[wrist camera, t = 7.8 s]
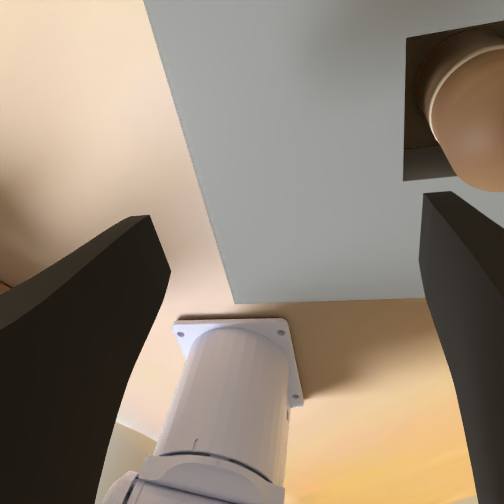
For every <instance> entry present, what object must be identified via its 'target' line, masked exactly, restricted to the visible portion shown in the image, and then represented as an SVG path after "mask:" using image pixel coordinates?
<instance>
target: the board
mask: <svg viewBox="0 0 504 504" xmlns="http://www.w3.org/2000/svg"><path fill="white" fill-rule="evenodd" d="M143 1H144V5H145V8H146V11H147V14H148V18H149V21H150V24H151V28H152V31H153V34H154V38H155V41H156V44H157V48H158V51H159V54H160V57H161V61H162V64H163V67H164V71H165V74H166V77H167V81H168V84H169V87H170V91H171V94H172V97H173V100H174V104H175V107H176V110H177V114H178V117H179V120H180V124H181V127H182V130H183V134H184V137H185V140H186V144H187V147H188V150H189V153H190V157H191V160H192V163H193V167H194V170H195V173H196V177H197V180H198V183H199V187H200V190H201V193H202V196H203V200H204V203H205V206H206V210H207V213H208V216H209V220H210V223H211V226H212V230H213V233H214V236H215V239H216V243H217V246H218V249H219V253H220V256H221V259H222V263H223V266H224V269H225V273H226V276H227V279H228V283H229V286H230V289H231V292H232V296H233V299H234V302H235V304H255V303H285V302H316V301H347V300H377V299H408V298H426V297H425V293H424V288H423V283H422V278H421V272H420V266H419V261H418V259H419V246H420V232H421V218H422V205H423V193H431V192H443V191H452V192H453V193H455V194H456V195H458V196H459V197H461V198H462V199H463V200H465V201H466V202H468V203H469V204H470V205H472V206H473V207H474V208H476V209H477V210H478V211H480V212H481V213H483V214H484V215H485V216H487V217H488V218H490V219H491V220H492V221H494V222H495V223H497V224H498V225H500V226H501V227H503V228H504V192H488V191H483V190H479V189H476V188H474V187H472V186H470V185H468V184H466V183H465V182H463V181H462V180H461V179H460V178H459V177H458V176H457V174H456V173H455V172H454V170H453V168H452V166H451V164H450V163H449V161H448V159H447V157H446V155H445V153H444V151H443V149H442V148H441V146H440V145H438V146H429V147H421V148H412V149H404V108H405V66H406V38H408V37H413V36H419V35H425V34H430V33H436V32H441V31H447V30H453V29H458V28H464V27H470V26H475V25H481V24H486V23H492V22H498V21H503V20H504V0H143Z"/></svg>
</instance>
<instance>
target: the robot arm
mask: <svg viewBox="0 0 504 504" xmlns="http://www.w3.org/2000/svg"><path fill="white" fill-rule="evenodd" d="M418 261H419V266H420V272H421V278H422V283H423V288H424V293H425V297H426V300H427V303H428V306H429V309H430V312H431V315H432V318H433V321H434V324H435V327H436V330H437V333H438V336H439V339H440V342H441V345H442V348H443V351H444V354H445V357H446V360H447V363H448V366H449V369H450V372H451V375H452V379H453V382H454V386H455V390H456V394H457V399H458V403H459V408H460V413H461V417H462V422H463V426H464V431H465V436H466V441H467V446H468V451H469V456H470V461H471V466H472V471H473V476H474V481H475V487H476V492H477V498H478V503H479V504H504V228H503V227H501V226H500V225H498V224H497V223H495V222H494V221H492V220H491V219H490V218H488V217H487V216H485V215H484V214H483V213H481V212H480V211H478V210H477V209H476V208H474V207H473V206H472V205H470V204H469V203H468V202H466V201H465V200H463V199H462V198H461V197H459V196H458V195H456V194H455V193H453V192H452V191H443V192H431V193H423V205H422V218H421V232H420V246H419V259H418ZM170 274H171V270H170V267H169V264H168V262H167V259H166V257H165V254H164V251H163V249H162V246H161V243H160V241H159V238H158V236H157V233H156V230H155V228H154V225H153V223H152V220H151V217H150V215H143V216H130V217H128V218H126V219H124V220H122V221H120V222H119V223H117V224H115V225H114V226H112V227H110V228H109V229H107V230H106V231H104V232H102V233H101V234H99V235H98V236H96V237H95V238H93V239H92V240H90V241H89V242H87V243H86V244H84V245H83V246H81V247H80V248H78V249H77V250H75V251H74V252H72V253H71V254H69V255H68V256H66V257H64V258H63V259H61V260H60V261H58V262H56V263H55V264H53V265H52V266H50V267H48V268H47V269H45V270H43V271H42V272H40V273H39V274H37V275H35V276H34V277H32V278H30V279H29V280H27V281H25V282H23V283H21V284H20V285H18V286H16V287H14V288H12V289H10V290H8V291H6V292H4V293H3V294H1V295H0V504H95V499H96V494H97V489H98V485H99V481H100V477H101V473H102V469H103V465H104V461H105V457H106V453H107V449H108V445H109V442H110V438H111V435H112V431H113V428H114V424H115V421H116V417H117V414H118V411H119V408H120V405H121V401H122V398H123V395H124V392H125V389H126V386H127V383H128V380H129V378H130V375H131V373H132V370H133V368H134V365H135V363H136V361H137V359H138V356H139V354H140V352H141V350H142V347H143V345H144V343H145V341H146V339H147V336H148V334H149V332H150V330H151V328H152V325H153V323H154V321H155V319H156V316H157V314H158V312H159V309H160V307H161V305H162V302H163V299H164V296H165V293H166V289H167V286H168V282H169V278H170ZM172 330H173V332H174V335H175V337H176V339H177V341H178V344H179V346H180V348H181V350H182V352H183V355H184V357H185V359H186V362H185V364H184V367H183V370H182V373H181V376H180V379H179V382H178V385H177V388H176V391H175V393H174V396H173V399H172V402H171V405H170V408H169V411H168V414H167V417H166V419H165V422H164V425H163V428H162V431H161V434H160V437H159V440H158V443H157V445H156V448H155V451H154V454H153V455H150V454H148V455H147V456H146V458H145V461H144V464H143V466H142V469H141V472H140V473H137V472H134V471H129V472H127V473H125V475H124V476H123V477H121V478H120V479H118V480H117V481H115V482H114V483H113V485H111V487H110V488H109V490H108V492H107V493H106V495H105V497H104V499H103V501H102V503H101V504H284V496H285V488H284V487H282V486H283V482H284V475H285V464H286V452H287V441H288V430H289V419H290V408H300V407H302V406H303V405H304V398H303V394H302V389H301V384H300V379H299V374H298V369H297V364H296V360H295V355H294V350H293V345H292V340H291V335H290V330H289V325H288V322H287V321H286V320H285V319H282V318H262V319H219V320H178V321H175V322H174V323H173V325H172ZM280 330H283V331H280Z"/></svg>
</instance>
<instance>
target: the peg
mask: <svg viewBox="0 0 504 504" xmlns="http://www.w3.org/2000/svg"><path fill="white" fill-rule="evenodd" d="M415 94H416V99H417V102H418V104H419V106H420V108H421V110H422V112H423V114H424V116H425V118H426V120H427V121H428V123H429V125H430V128H431V131H432V133H433V135H434V136H435V138H436V140H437V141H438V143H439V144H440V146H441V148H442V149H443V151H444V153H445V155H446V157H447V159H448V161H449V163H450V164H451V166H452V168H453V170H454V172H455V173H456V174H457V176H458V177H459V178H460V179H461V180H462V181H463V182H465V183H466V184H468V185H470V186H472V187H474V188H476V189H479V190H483V191H488V192H504V38H502V37H500V36H498V35H497V34H495V33H492V32H490V31H486V30H467V31H463V32H460V33H457V34H454V35H452V36H450V37H448V38H447V39H445V40H444V41H442V42H441V43H439V44H438V45H437V46H436V47H435V48H434V49H433V50H432V51H431V52H430V53H429V54H428V56H427V57H426V58H425V60H424V61H423V63H422V65H421V67H420V69H419V72H418V74H417V78H416V84H415Z"/></svg>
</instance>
